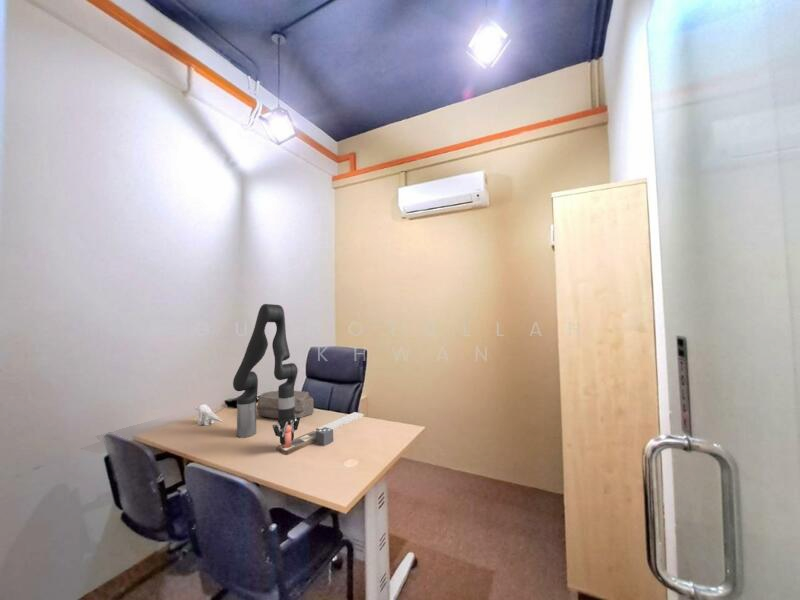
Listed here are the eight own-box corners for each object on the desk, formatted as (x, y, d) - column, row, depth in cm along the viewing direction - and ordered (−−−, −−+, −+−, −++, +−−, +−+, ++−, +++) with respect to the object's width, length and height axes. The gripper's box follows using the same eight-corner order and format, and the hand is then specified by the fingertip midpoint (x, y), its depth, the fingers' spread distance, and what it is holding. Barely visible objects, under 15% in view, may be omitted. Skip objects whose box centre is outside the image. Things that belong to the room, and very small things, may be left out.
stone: (322, 409, 200) (321, 386, 200) (295, 425, 176) (293, 400, 176) (279, 406, 214) (277, 385, 214) (248, 421, 189) (246, 397, 189)
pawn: (279, 447, 144) (279, 424, 144) (288, 443, 147) (288, 421, 148) (285, 449, 141) (285, 426, 141) (294, 445, 145) (293, 423, 145)
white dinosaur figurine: (198, 418, 187) (200, 400, 186) (227, 427, 178) (229, 408, 178) (187, 422, 180) (189, 404, 180) (217, 431, 172) (218, 412, 172)
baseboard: (314, 429, 169) (326, 433, 163) (314, 424, 169) (326, 428, 163) (351, 413, 194) (363, 416, 188) (351, 408, 194) (363, 411, 188)
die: (315, 443, 151) (315, 430, 151) (325, 438, 155) (325, 426, 156) (324, 446, 147) (323, 433, 147) (333, 441, 152) (333, 429, 152)
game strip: (276, 449, 144) (276, 446, 144) (313, 433, 162) (313, 430, 162) (287, 454, 139) (287, 451, 139) (324, 437, 157) (324, 434, 157)
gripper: (294, 400, 152) (294, 435, 152) (268, 408, 141) (268, 446, 140) (303, 403, 148) (304, 438, 148) (277, 411, 137) (278, 450, 136)
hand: (286, 442), depth 144 cm, fingers closed on pawn, 4 cm apart
